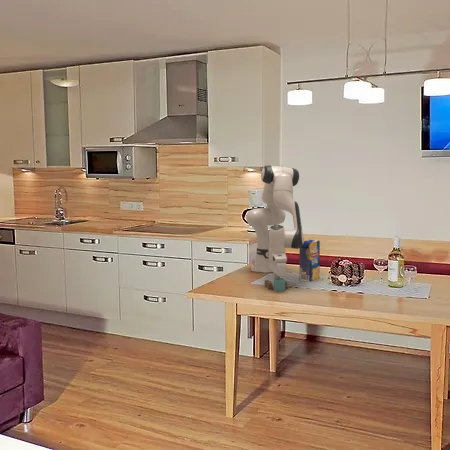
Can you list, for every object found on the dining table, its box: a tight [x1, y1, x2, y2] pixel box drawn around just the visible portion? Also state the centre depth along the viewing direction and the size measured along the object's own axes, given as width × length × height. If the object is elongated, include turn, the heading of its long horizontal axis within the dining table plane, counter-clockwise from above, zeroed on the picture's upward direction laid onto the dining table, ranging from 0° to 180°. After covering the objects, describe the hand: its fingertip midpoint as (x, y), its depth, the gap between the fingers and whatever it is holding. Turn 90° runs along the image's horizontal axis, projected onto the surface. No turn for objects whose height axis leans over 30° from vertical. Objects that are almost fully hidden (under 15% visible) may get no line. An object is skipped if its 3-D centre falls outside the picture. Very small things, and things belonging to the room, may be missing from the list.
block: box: [272, 277, 286, 293], centre depth 302 cm, size 5×5×6 cm
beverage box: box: [299, 239, 321, 282], centre depth 327 cm, size 7×11×22 cm, turn 141°
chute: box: [264, 279, 288, 291], centre depth 309 cm, size 9×10×4 cm
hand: (277, 281), depth 306 cm, fingers closed
